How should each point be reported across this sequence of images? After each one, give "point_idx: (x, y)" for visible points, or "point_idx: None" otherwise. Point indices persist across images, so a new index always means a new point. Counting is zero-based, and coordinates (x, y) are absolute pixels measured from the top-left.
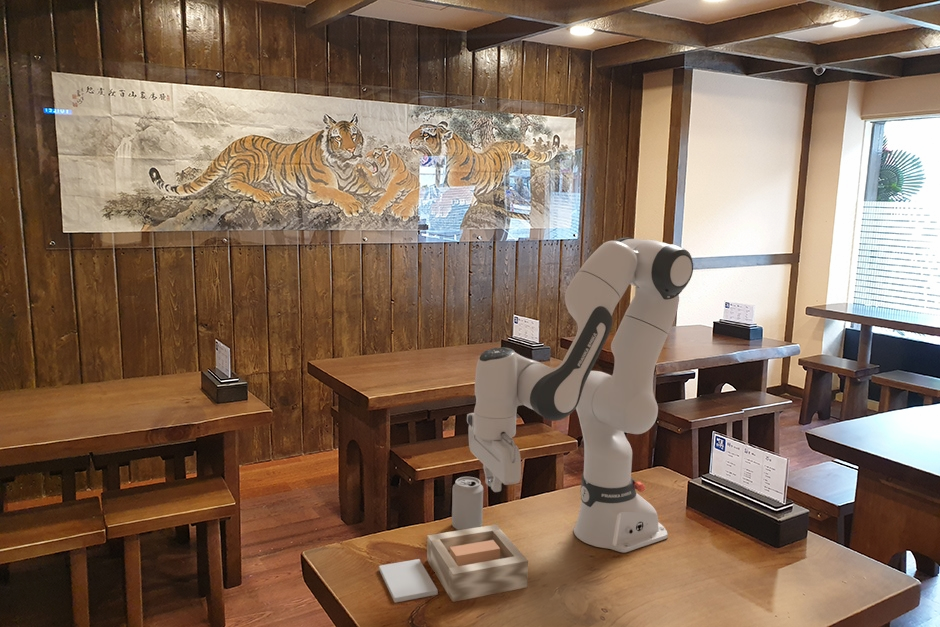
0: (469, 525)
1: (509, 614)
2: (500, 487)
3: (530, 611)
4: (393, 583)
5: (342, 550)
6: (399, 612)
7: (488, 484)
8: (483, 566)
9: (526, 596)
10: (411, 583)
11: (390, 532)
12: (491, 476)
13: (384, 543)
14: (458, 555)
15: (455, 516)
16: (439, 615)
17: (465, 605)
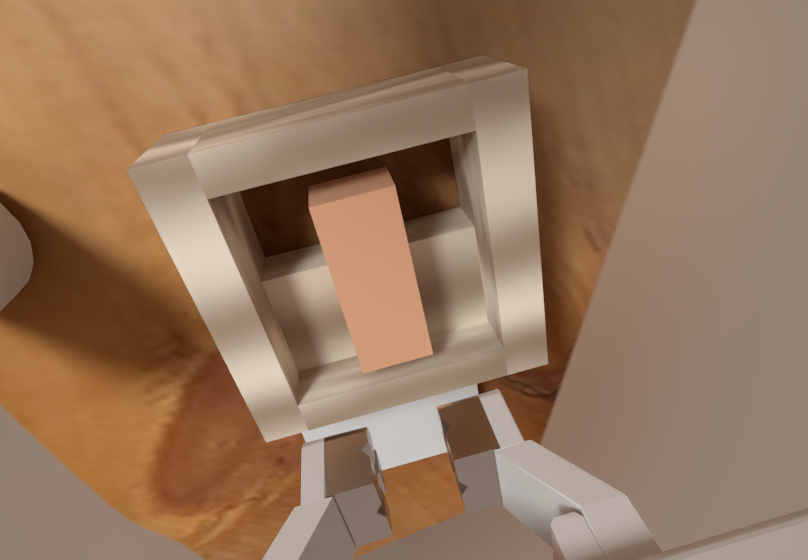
0: (15, 252)
1: (617, 155)
2: (510, 414)
3: (626, 79)
4: (419, 449)
5: (219, 554)
6: (523, 418)
7: (382, 481)
8: (526, 269)
9: (539, 72)
10: (426, 413)
11: (83, 477)
12: (343, 518)
13: (165, 482)
14: (429, 347)
15: None
16: (561, 339)
17: None
